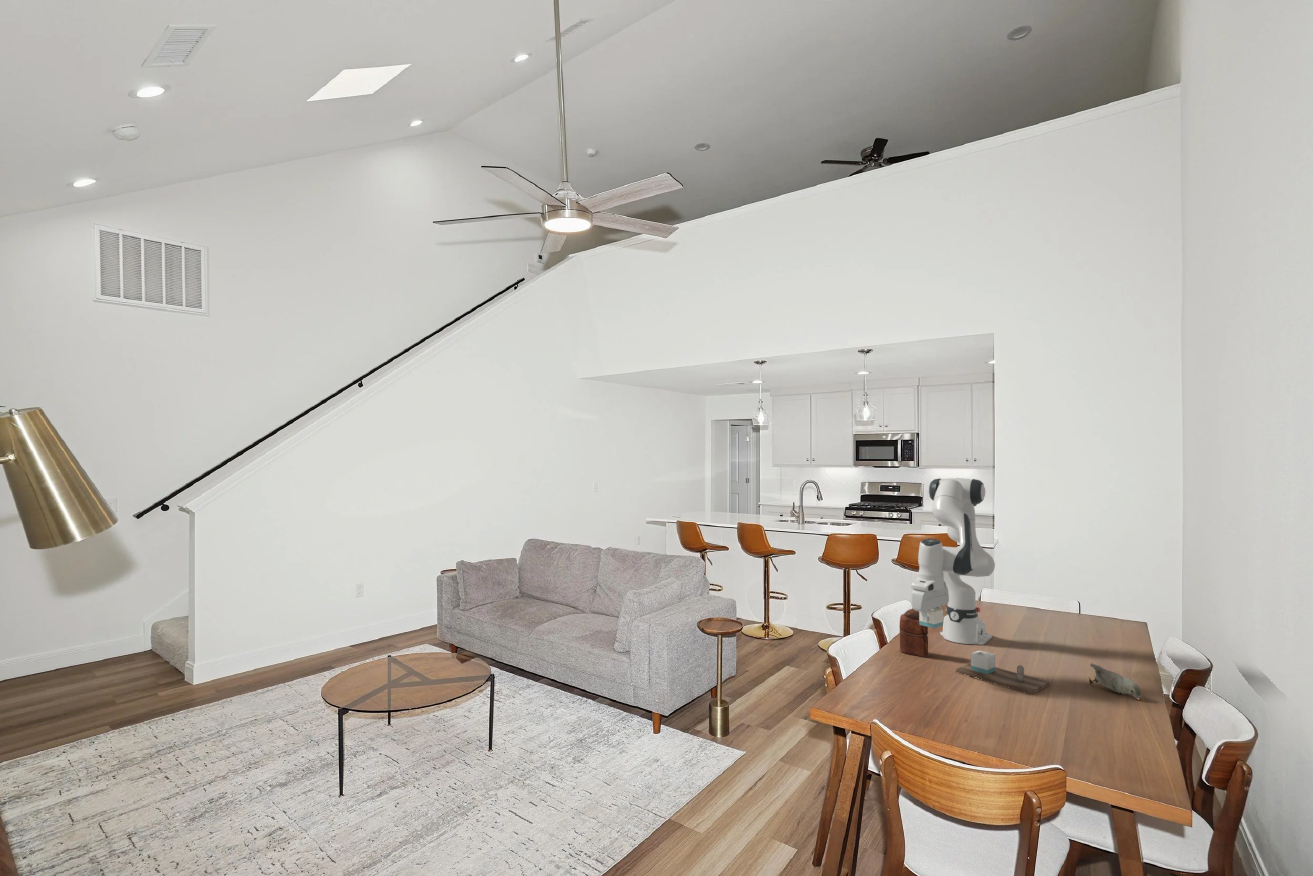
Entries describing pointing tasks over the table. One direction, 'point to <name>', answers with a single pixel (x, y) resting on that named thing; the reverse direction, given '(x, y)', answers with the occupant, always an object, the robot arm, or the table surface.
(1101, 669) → the decorative bird
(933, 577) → the robot arm
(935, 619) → the cream sleeve
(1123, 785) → the table surface
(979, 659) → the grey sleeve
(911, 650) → the brown leather case
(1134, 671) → the table surface
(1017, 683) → the pin board
